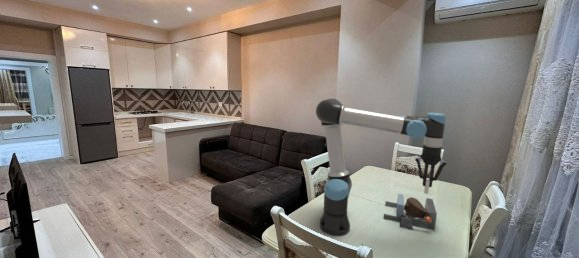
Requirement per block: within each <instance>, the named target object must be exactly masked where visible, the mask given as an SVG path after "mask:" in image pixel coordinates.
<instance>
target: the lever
mask: <svg viewBox="0 0 579 258" xmlns="http://www.w3.org/2000/svg"><path fill="white" fill-rule="evenodd" d="M405 217H406V218H411V219H412V220H415V221H420V222H425V223H431V222H432V219H431V218H430V217H428V216H427V217H425V218H415V217H408V216H405Z"/></svg>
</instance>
